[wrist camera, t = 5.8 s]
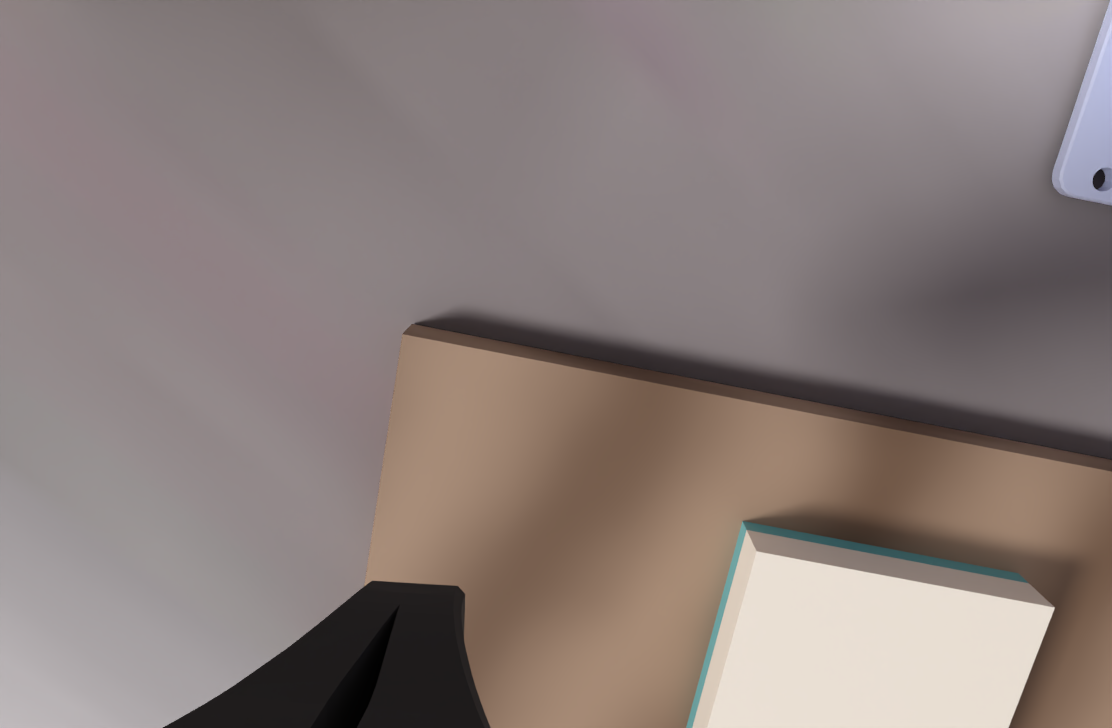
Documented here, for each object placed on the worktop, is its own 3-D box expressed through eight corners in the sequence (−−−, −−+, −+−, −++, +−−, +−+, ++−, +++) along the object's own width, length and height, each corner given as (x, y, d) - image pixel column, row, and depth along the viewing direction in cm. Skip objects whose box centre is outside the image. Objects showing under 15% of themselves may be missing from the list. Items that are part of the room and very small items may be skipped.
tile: (742, 521, 20) (1018, 573, 20) (686, 727, 22) (943, 774, 22) (756, 551, 19) (1054, 607, 19) (694, 771, 20) (972, 821, 20)
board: (1263, 489, 21) (1304, 509, 20) (1051, 973, 25) (1074, 1012, 24) (412, 324, 20) (402, 334, 19) (331, 846, 24) (319, 881, 23)
